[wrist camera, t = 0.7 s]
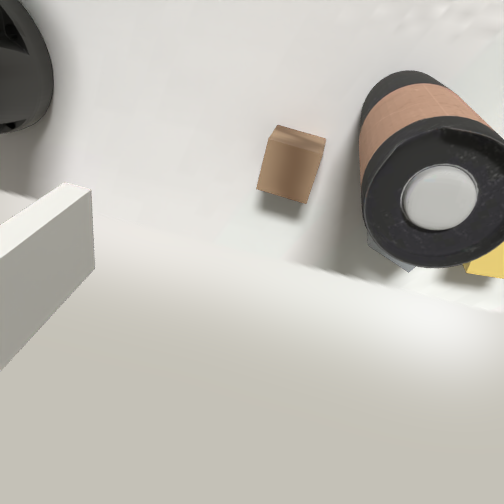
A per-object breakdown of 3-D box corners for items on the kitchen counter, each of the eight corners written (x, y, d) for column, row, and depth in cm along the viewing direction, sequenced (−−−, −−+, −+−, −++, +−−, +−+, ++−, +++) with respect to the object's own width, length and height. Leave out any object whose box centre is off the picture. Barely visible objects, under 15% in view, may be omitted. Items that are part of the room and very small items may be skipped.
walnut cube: (266, 170, 41) (256, 188, 37) (277, 124, 38) (268, 138, 34) (311, 184, 41) (306, 204, 37) (326, 138, 38) (322, 154, 34)
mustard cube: (455, 246, 41) (466, 272, 37) (471, 203, 38) (485, 227, 34) (506, 253, 40) (523, 281, 36) (526, 210, 37) (547, 235, 33)
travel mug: (417, 165, 37) (465, 291, 21) (344, 136, 37) (334, 238, 21) (467, 85, 33) (576, 165, 17) (383, 52, 33) (410, 99, 17)
